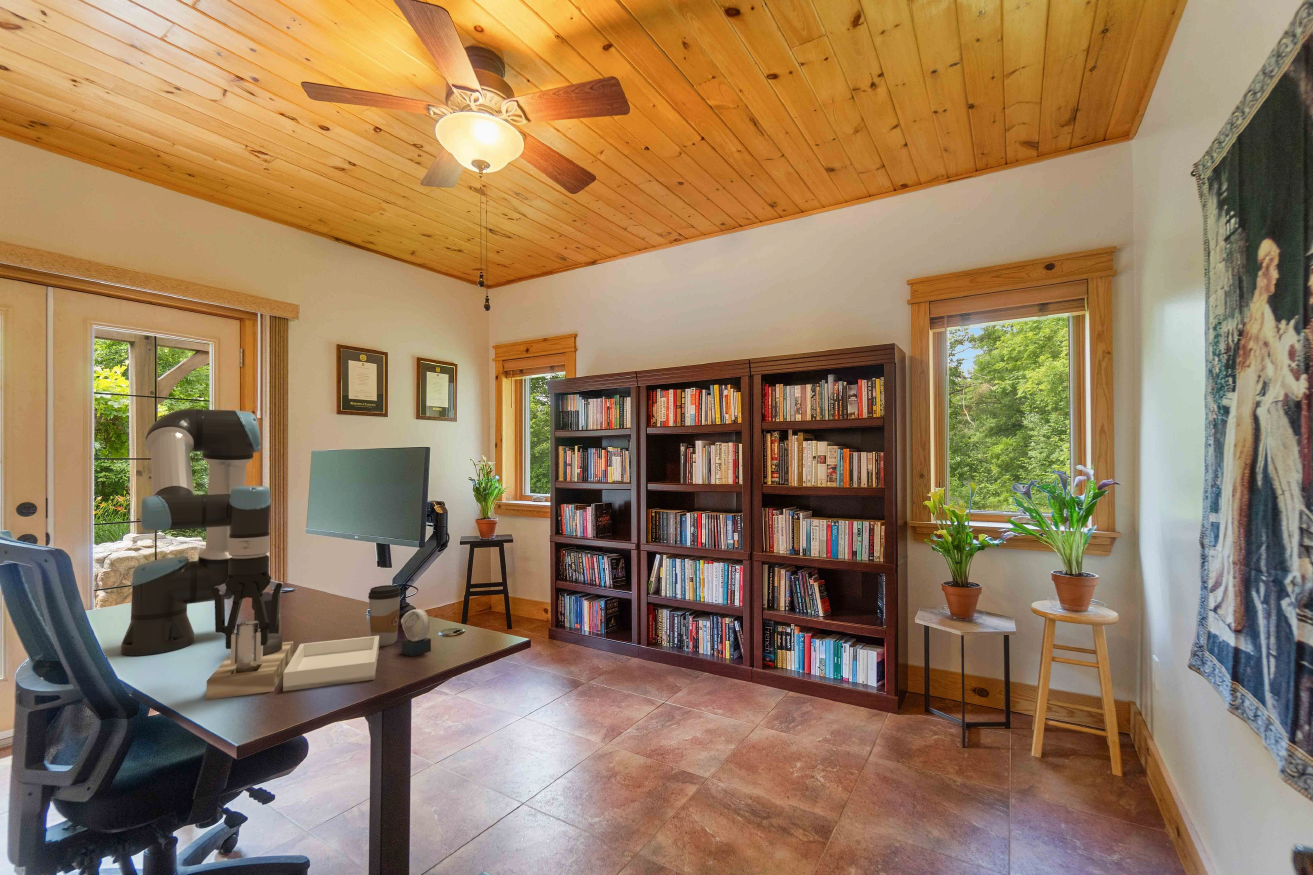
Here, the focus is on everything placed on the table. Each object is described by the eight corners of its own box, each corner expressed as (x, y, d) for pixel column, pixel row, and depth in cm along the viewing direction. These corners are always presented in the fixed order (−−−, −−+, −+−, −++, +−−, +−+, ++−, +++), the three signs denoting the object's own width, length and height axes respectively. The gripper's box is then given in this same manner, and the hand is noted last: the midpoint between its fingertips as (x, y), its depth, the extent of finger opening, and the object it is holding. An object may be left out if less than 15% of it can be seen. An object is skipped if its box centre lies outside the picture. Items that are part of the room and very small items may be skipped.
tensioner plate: (236, 663, 146) (237, 630, 147) (293, 657, 151) (293, 624, 151) (206, 699, 124) (207, 660, 125) (273, 691, 129) (274, 652, 129)
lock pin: (237, 685, 132) (239, 621, 133) (259, 682, 134) (260, 620, 134) (232, 691, 129) (234, 626, 129) (254, 688, 130) (256, 624, 131)
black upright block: (281, 656, 152) (282, 597, 152) (262, 660, 149) (263, 600, 149) (269, 647, 159) (270, 591, 160) (250, 651, 156) (251, 593, 157)
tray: (300, 659, 149) (300, 643, 149) (379, 650, 156) (379, 635, 156) (283, 691, 129) (283, 672, 129) (374, 679, 136) (374, 661, 136)
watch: (415, 646, 159) (415, 605, 160) (435, 651, 155) (435, 609, 156) (396, 652, 155) (397, 610, 155) (416, 657, 150) (417, 614, 151)
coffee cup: (387, 648, 158) (388, 591, 159) (360, 646, 160) (361, 590, 160) (407, 639, 166) (407, 585, 167) (380, 637, 168) (381, 584, 168)
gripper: (197, 560, 126) (194, 672, 125) (290, 555, 132) (288, 661, 131) (208, 555, 133) (205, 661, 132) (296, 550, 139) (294, 651, 138)
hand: (246, 661), depth 132 cm, fingers closed on lock pin, 4 cm apart
